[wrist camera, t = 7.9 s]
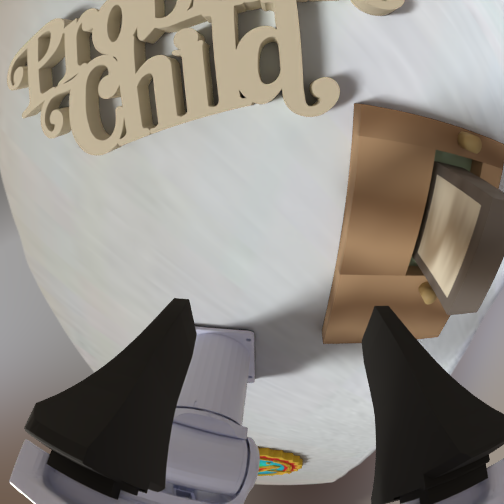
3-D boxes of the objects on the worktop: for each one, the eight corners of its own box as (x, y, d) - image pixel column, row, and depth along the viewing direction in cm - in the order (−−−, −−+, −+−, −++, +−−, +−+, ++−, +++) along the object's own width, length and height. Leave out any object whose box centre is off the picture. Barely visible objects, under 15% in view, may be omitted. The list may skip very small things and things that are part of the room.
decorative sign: (40, 202, 18) (4, 62, 11) (54, 193, 20) (19, 60, 13) (430, 110, 12) (370, -75, 5) (416, 107, 14) (363, -63, 7)
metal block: (439, 257, 19) (477, 312, 13) (411, 255, 20) (446, 315, 14) (463, 167, 15) (521, 205, 9) (433, 160, 15) (492, 197, 9)
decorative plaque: (171, 459, 57) (208, 443, 42) (173, 452, 59) (210, 432, 44) (263, 480, 63) (327, 463, 48) (264, 473, 65) (327, 454, 50)
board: (433, 326, 24) (442, 347, 21) (321, 330, 25) (324, 356, 22) (494, 140, 13) (518, 150, 11) (354, 103, 14) (369, 104, 12)
